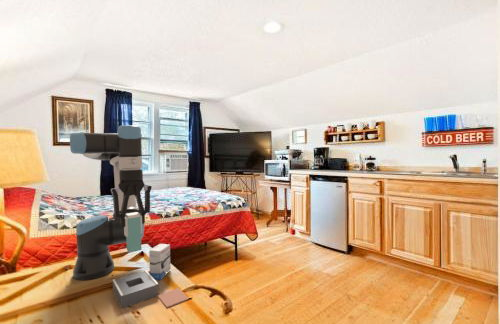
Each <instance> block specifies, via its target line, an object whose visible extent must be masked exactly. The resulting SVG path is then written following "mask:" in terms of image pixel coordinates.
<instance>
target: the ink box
mask: <svg viewBox="0 0 500 324" xmlns="http://www.w3.org/2000/svg"><path fill="white" fill-rule="evenodd" d="M148 254H149V257H148V258H149V260H148V261H149V274H150V275H151V276H152V277H153V278H154V279H155V280H156V281H162V279H163V278H165V277H166V276H165V274H166V272H168V271H169V270H170V269H171V244H169V243H168V244H166V243H159V244H157V245H155V246H153V247H152V248H151V249H149V252H148ZM171 270H172V269H171Z"/></svg>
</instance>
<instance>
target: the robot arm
mask: <svg viewBox="0 0 500 324" xmlns="http://www.w3.org/2000/svg"><path fill="white" fill-rule="evenodd" d="M142 135H143V134H142V129H141V127H140V126H139V125H133V124H132V125H131V124H125V125H119V126H118V127H117V133H115V132H113V133H112V132H109V133H107V132H105V133H103V132H101V133H100V132H71V134H70V135H69V149H70V152H71V153H72V154H76V155H77V154H78V155H83V157H85V158H87V159H92V160H97V161H109V164H110V165H112V166H113V177H114V188H111V189H110V193H111V195H112V202H113V214H112V217H110V218H109V217H108V215H105V214H102V215H94V216H92V217H89V218H85V219H82V220H80V221H79V222H78V223H77V224H76V230H75V231H76V232H75V235H76V249H77V250H76V252H77V254H76V255H77V257H76V260H75V265H74V267H73V270H72V275H73V279H75V280H77V281H79V280H80V281H85V280H87V281H88V280H93V279H98V278H101V277H104V276H106V275H108V274H110V273H111V272H113V270H114V269H115V262H114V260H113V257H112V255H111V253H110V247H109V246H114V245H115V246H116V245H119V244H120V245H121V244H124V243H125V244H127V243H126V237H127V236H128V218H127V217H125V216H126V214H127V213H134V212H138V213H140V223H141V240H142V239H143V237H144V233H145V224H146V223H145V222H146V217H145V216H146V214H147V213H150V212H151V191H152V188H153V187H152V185H149V184H145V182H144V177H143V175H144V174H143V173H144V172H143V171H144V170H143V169H142V168H143V155H142V154H143V153H142V151H143V150H142V137H143V136H142ZM142 190H144V205H143V200H142V195H141V191H142ZM137 207H138V208H137Z"/></svg>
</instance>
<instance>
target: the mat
mask: <svg viewBox="0 0 500 324" xmlns="http://www.w3.org/2000/svg"><path fill="white" fill-rule="evenodd" d="M179 288H180V287H177V288H174V289H172V290H168V291H166V292H163V293H160V294H158V296H157V298H158V299H159V300H160V301H161V303H162V305H164V307H166V309H169V308H171V307H174V306H176V305H178V304H181V303H184V302H186V301H189V300H190V299H189V298H188V297H187V296H186V295H185V293H183V292H182V291H181V290H180V289H179ZM188 299H189V300H188Z"/></svg>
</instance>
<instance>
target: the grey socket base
mask: <svg viewBox="0 0 500 324" xmlns="http://www.w3.org/2000/svg"><path fill="white" fill-rule="evenodd" d="M112 292H113V294H114V296H115V298H116V300H117V302H118V303H119V305H120V308H121V309H123V308H124V309H125V308H127V307H129V306H132V305H135V304H138V303H141V302H144V301H146V300H149V299H152V298H154V297H155V298H156V297H158V295H159V282H157V280H155V279H154V278H153V277H152V276H151V275H150V272H149V271H148V270H147V269H144V271H140V272H137V273H133V274H130V275H126V276H123V277H120V278H116V279H114V278H113V279H112Z"/></svg>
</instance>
